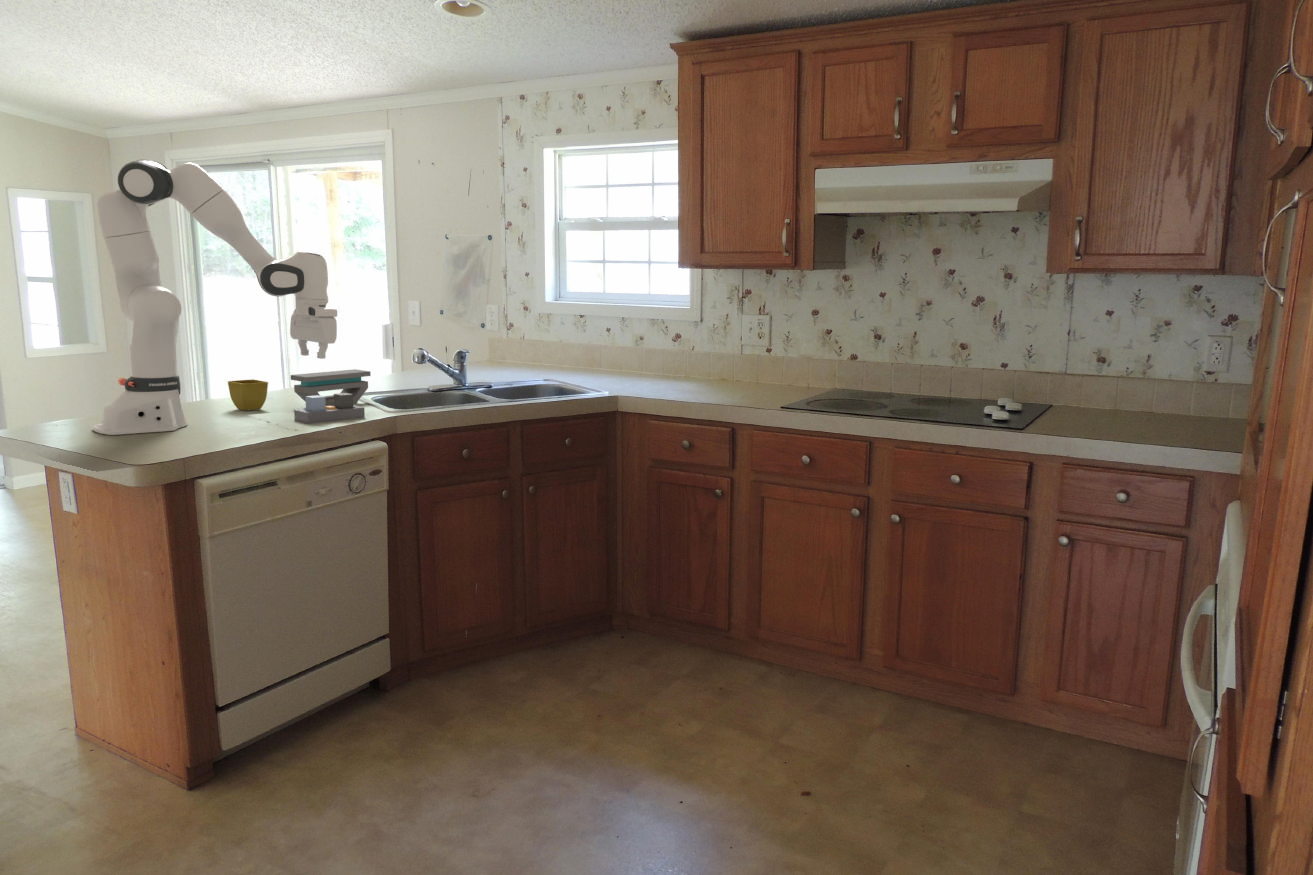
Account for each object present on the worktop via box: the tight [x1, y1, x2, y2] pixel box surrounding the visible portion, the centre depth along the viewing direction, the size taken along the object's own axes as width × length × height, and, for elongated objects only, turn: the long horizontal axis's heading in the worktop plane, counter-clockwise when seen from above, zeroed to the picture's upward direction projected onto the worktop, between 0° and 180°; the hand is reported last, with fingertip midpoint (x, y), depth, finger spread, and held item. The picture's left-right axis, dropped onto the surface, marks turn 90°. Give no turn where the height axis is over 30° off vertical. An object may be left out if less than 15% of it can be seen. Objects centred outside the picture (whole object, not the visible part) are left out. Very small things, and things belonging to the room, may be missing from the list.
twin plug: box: [333, 392, 353, 409], centre depth 267 cm, size 4×4×7 cm
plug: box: [305, 394, 326, 412], centre depth 261 cm, size 4×4×7 cm
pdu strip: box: [293, 404, 366, 425], centre depth 264 cm, size 18×8×5 cm, turn 139°
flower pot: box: [227, 378, 269, 412], centre depth 280 cm, size 9×9×9 cm
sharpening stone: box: [290, 368, 372, 406], centre depth 293 cm, size 25×8×11 cm, turn 147°
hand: (313, 356), depth 258 cm, fingers open, 8 cm apart
